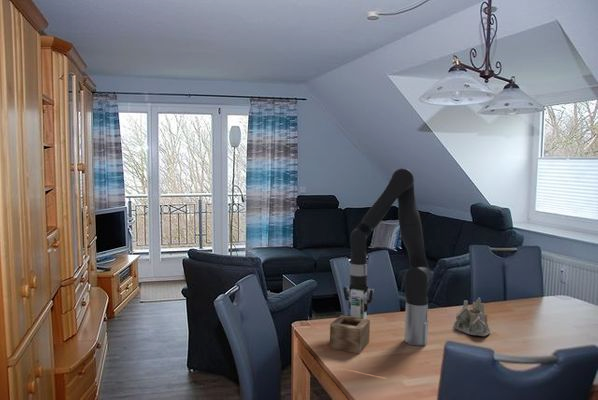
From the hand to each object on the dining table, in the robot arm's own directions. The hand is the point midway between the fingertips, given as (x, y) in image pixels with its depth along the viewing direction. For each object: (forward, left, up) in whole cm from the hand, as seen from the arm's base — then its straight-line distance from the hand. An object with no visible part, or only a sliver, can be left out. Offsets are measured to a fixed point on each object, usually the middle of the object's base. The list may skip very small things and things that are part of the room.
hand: (358, 310), depth 201 cm
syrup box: (0, 0, -5) cm, 5 cm away
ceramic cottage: (-45, -29, -11) cm, 55 cm away
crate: (-1, +13, -11) cm, 17 cm away
